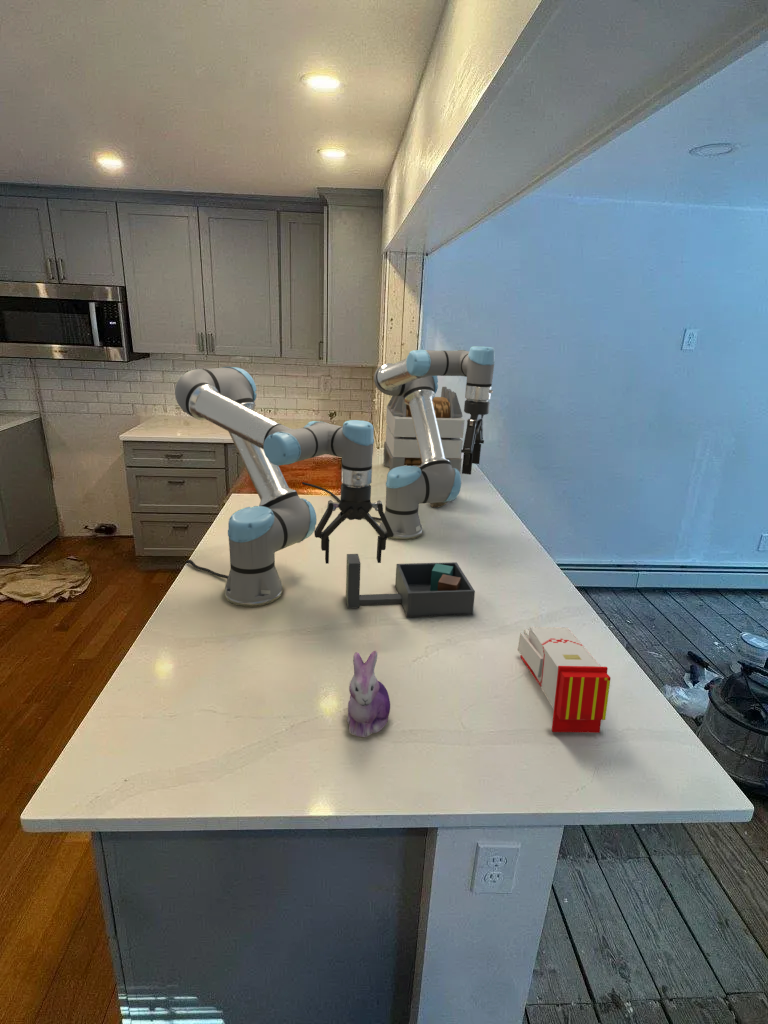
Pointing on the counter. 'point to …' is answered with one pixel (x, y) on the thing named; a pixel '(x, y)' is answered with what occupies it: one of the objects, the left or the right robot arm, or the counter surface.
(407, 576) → the box
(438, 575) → the teal block
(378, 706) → the figurine
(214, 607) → the counter surface
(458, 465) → the grey slatted crate
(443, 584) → the walnut block
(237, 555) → the left robot arm
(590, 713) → the toy
